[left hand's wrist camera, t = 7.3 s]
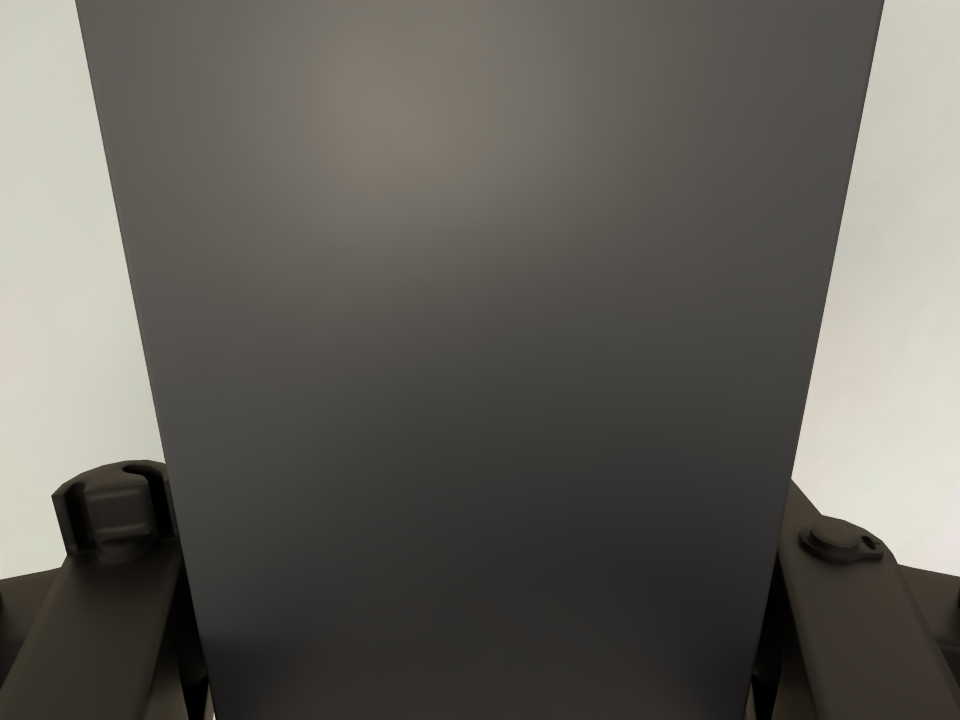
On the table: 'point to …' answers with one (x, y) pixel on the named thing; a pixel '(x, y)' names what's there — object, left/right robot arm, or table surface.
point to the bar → (479, 334)
